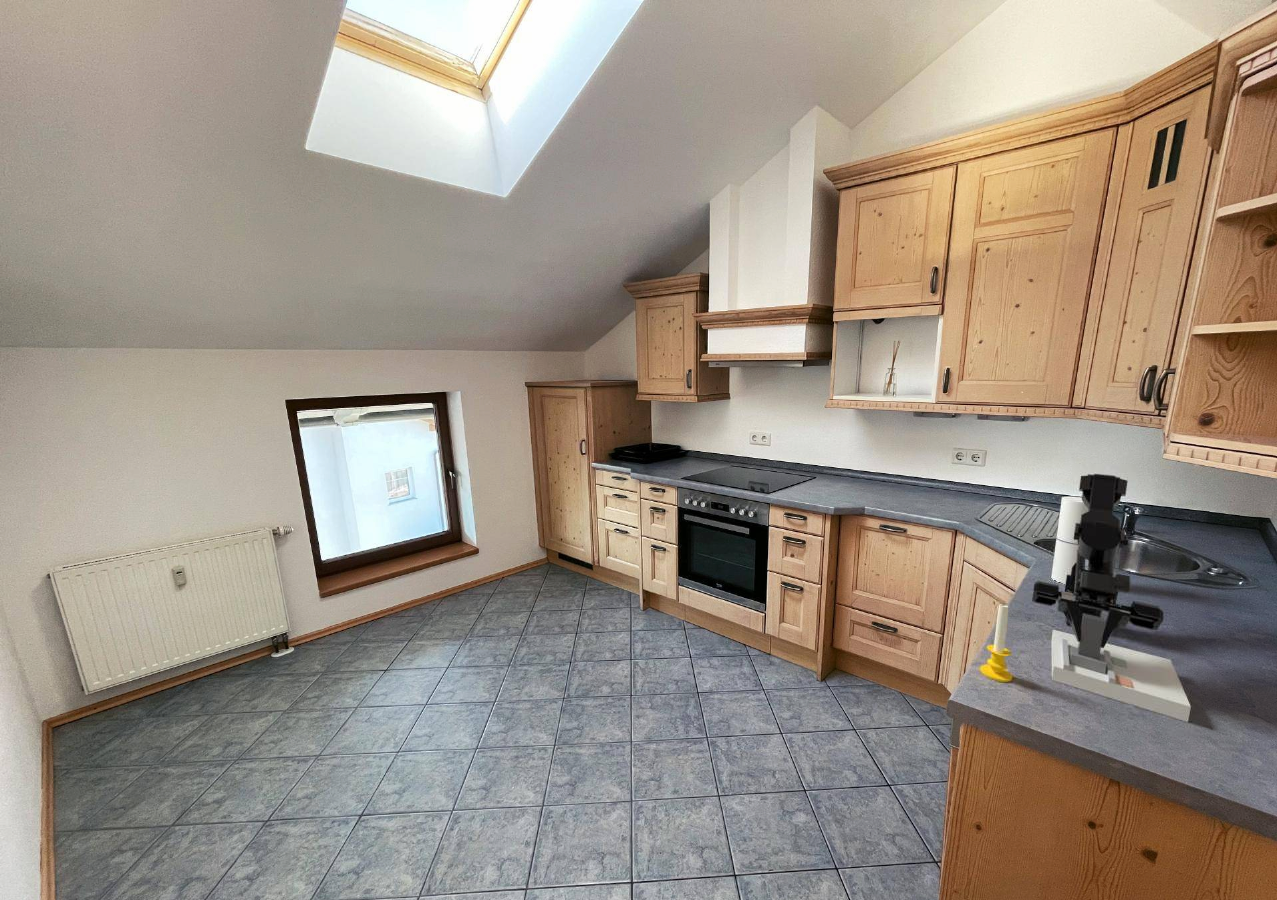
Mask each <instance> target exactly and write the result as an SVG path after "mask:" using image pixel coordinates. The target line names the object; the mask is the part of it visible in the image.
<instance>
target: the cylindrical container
mask: <svg viewBox="0 0 1277 900" xmlns="http://www.w3.org/2000/svg"><path fill="white" fill-rule="evenodd" d="M1086 512H1088V508H1087V507H1086V505H1085V504H1084V502H1083V501H1082V496H1080V497H1079V496H1062V497H1061V502H1060V510H1059V515H1058V516H1059V518H1058V523H1057V524H1058V525H1057V531H1056V539H1055V540H1056V541H1055V548H1054V555H1053V561H1052V571H1051V578H1052V579H1053V580H1052V579H1051V580H1052V581H1054V580H1056V581H1057V582H1056V583H1058V582H1061V583H1063V584H1062V585H1064V584H1066V577H1067V574H1068V575H1071V570H1072V567H1073V566H1074V564H1075V563H1076V562H1077V551H1078V546H1079V544H1078V540H1074V532H1075V526H1076V523H1079V524H1080V521H1081V515H1082V514H1084V513H1086ZM1061 583H1060V584H1061Z"/></svg>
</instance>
